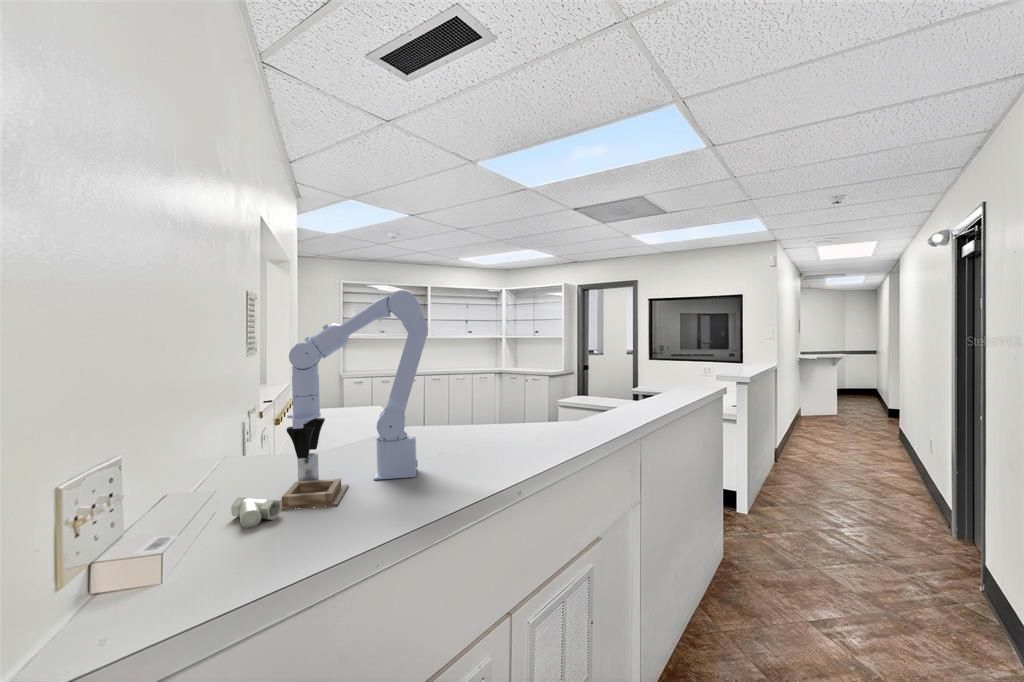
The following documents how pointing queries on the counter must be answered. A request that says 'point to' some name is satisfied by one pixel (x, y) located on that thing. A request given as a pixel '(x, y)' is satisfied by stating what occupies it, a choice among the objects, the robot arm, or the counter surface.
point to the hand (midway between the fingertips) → (307, 453)
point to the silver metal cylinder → (308, 468)
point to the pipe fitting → (255, 510)
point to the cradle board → (313, 494)
